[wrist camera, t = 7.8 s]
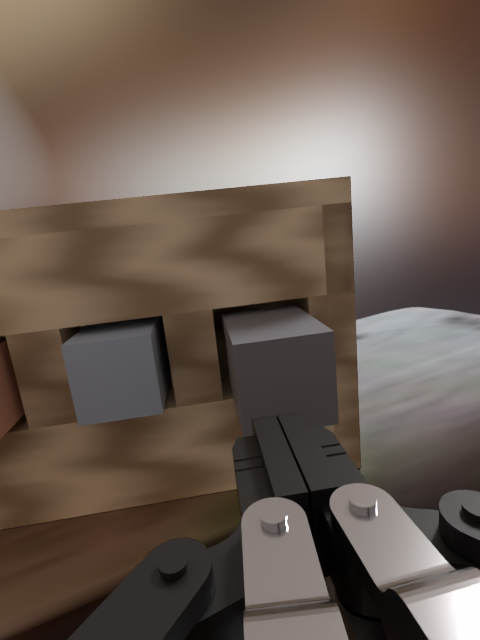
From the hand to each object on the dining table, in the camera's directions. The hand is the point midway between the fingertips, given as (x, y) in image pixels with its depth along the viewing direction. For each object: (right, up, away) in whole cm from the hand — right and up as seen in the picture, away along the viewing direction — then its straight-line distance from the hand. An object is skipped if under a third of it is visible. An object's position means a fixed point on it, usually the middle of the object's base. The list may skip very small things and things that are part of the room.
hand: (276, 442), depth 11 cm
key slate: (-7, 0, +10) cm, 12 cm away
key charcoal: (+1, 0, +7) cm, 7 cm away
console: (-7, -6, +14) cm, 16 cm away
